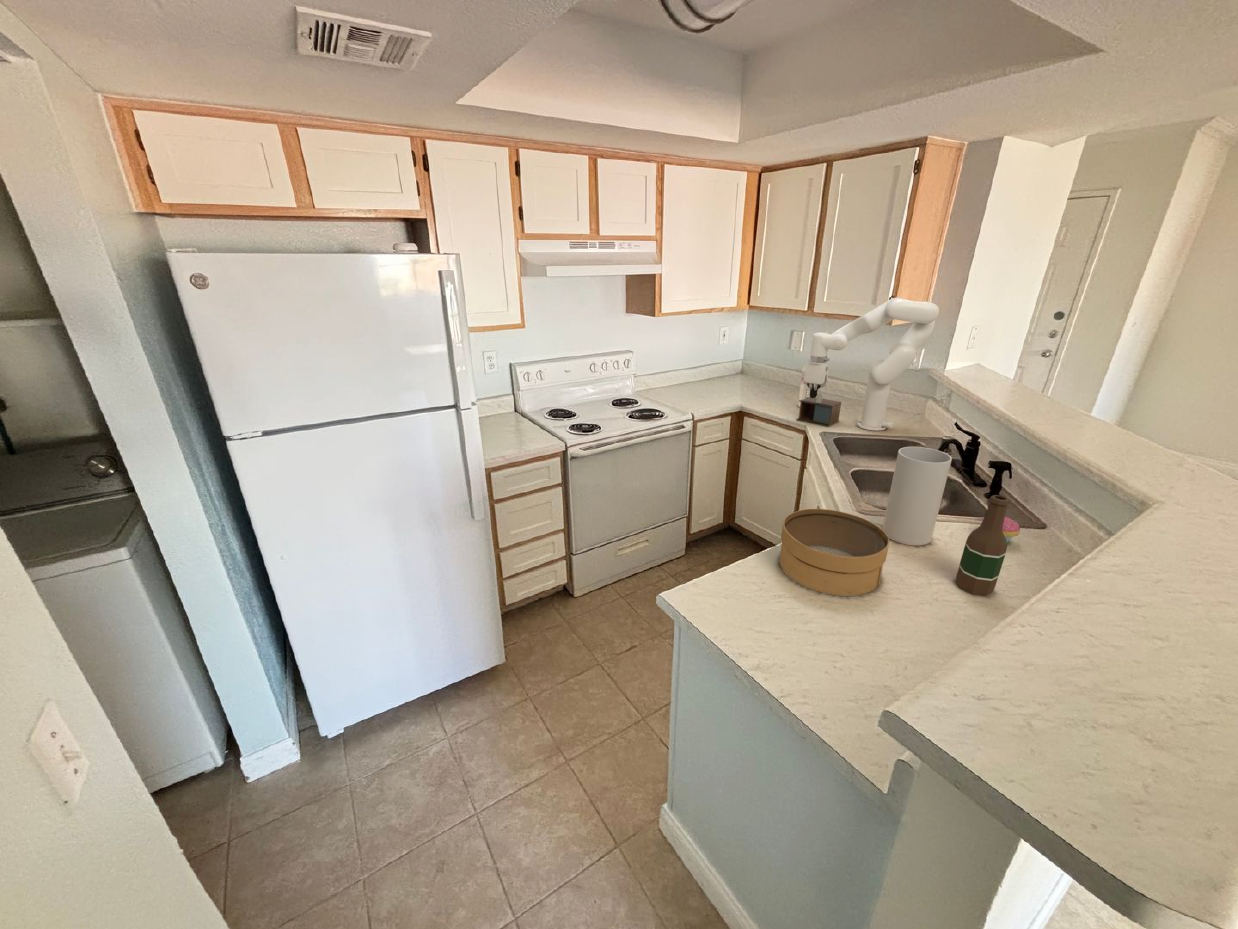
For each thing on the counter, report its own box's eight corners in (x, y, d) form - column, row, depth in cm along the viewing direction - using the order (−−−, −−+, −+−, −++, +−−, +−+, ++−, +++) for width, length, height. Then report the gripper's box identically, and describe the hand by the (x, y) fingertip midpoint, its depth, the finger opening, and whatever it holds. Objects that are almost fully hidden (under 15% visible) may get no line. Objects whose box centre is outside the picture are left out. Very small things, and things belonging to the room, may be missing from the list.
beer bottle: (952, 588, 121) (978, 499, 112) (956, 574, 126) (981, 487, 117) (992, 601, 116) (1021, 508, 107) (994, 585, 122) (1022, 495, 113)
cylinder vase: (892, 521, 153) (909, 443, 143) (937, 536, 144) (958, 454, 134) (874, 535, 145) (890, 454, 136) (921, 552, 136) (942, 466, 127)
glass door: (828, 424, 241) (832, 396, 236) (813, 421, 246) (816, 393, 241) (829, 424, 242) (833, 396, 236) (813, 420, 247) (817, 393, 242)
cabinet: (827, 426, 241) (830, 406, 237) (796, 420, 251) (799, 400, 248) (838, 421, 248) (841, 401, 245) (807, 415, 259) (810, 396, 255)
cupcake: (975, 540, 141) (986, 502, 137) (982, 529, 147) (993, 492, 143) (1012, 551, 136) (1025, 512, 131) (1018, 540, 141) (1031, 502, 137)
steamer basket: (870, 549, 138) (878, 512, 133) (892, 605, 115) (901, 563, 111) (776, 538, 144) (781, 503, 139) (780, 589, 121) (785, 549, 117)
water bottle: (808, 409, 270) (814, 362, 260) (795, 407, 274) (801, 361, 264) (812, 406, 275) (818, 360, 265) (800, 404, 279) (805, 359, 269)
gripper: (836, 360, 234) (831, 398, 241) (806, 356, 244) (802, 393, 251) (829, 362, 229) (824, 401, 236) (799, 358, 239) (794, 396, 246)
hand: (812, 397), depth 243 cm, fingers closed
